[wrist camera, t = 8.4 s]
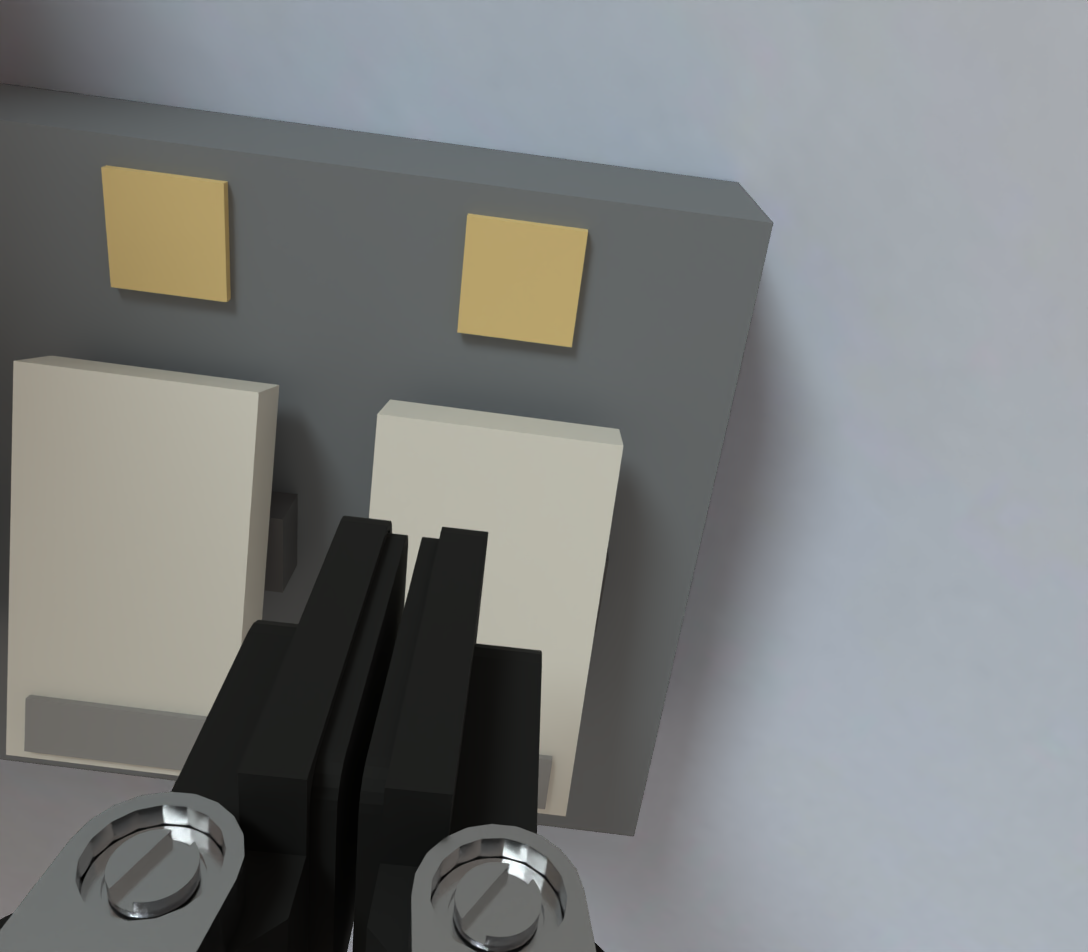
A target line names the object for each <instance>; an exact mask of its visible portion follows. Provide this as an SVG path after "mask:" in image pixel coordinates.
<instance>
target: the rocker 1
mask: <svg viewBox="0 0 1088 952" xmlns="http://www.w3.org/2000/svg"><path fill="white" fill-rule="evenodd" d="M278 397H279V385H276V384H268V383H260V382H253V381H245V380H237V379H229V378H222V377H214V376H206V375H198V374H191V373H183V372H175V371H168V370H160V369H152V368H144V367H137V366H129V365H121V364H113V363H106V362H98V361H90V360H83V359H75V358H67V357H59V356H52V355H51V356H44V357H37V358H30V359H23V360H16V361H13V413H12V466H11V518H10V571H9V624H8V677H7V730H6V755H12V756H20V757H28V758H37V759H45V760H53V761H61V762H69V763H78V764H86V765H94V766H102V767H110V768H119V769H127V770H135V771H143V772H151V773H160V774H168V775H176V776H179V774H180V772H181V770H182V768H183V766H184V764H185V762H186V760H187V758H188V756H189V754H190V752H191V749H192V747H193V745H194V743H195V741H196V739H197V737H198V735H199V733H200V731H201V729H202V727H203V724H204V722H205V720H206V718H207V716H208V714H209V712H210V710H211V708H212V706H213V704H214V702H215V699H216V697H217V695H218V693H219V691H220V689H221V687H222V685H223V683H224V681H225V679H226V677H227V674H228V672H229V670H230V668H231V666H232V664H233V662H234V660H235V658H236V656H237V654H238V651H239V649H240V647H241V645H242V643H243V641H244V639H245V637H246V635H247V633H248V631H249V629H250V628H251V626H252V624H253V623H254V622H255V621H257V620H262V613H263V599H264V586H265V572H266V559H267V545H268V532H269V518H270V505H271V492H272V478H273V465H274V451H275V438H276V424H277V411H278Z"/></svg>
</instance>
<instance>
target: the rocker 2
mask: <svg viewBox="0 0 1088 952" xmlns="http://www.w3.org/2000/svg"><path fill="white" fill-rule="evenodd" d="M622 452H623V442H622V438H621V434H620V430H619V429H615V428H607V427H599V426H592V425H584V424H576V423H568V422H561V421H553V420H545V419H537V418H530V417H522V416H514V415H507V414H499V413H491V412H483V411H476V410H468V409H460V408H452V407H445V406H437V405H429V404H422V403H414V402H406V401H398V400H391V399H390V400H389V401H388V403H387V404H386V405H385V406H384V407H383V408H382V409H381V410H380V412H379V413H378V414H377V425H376V437H375V449H374V461H373V473H372V486H371V498H370V510H369V518H371V519H380V520H389V521H391V523H392V533H393V534H402V535H408V557H407V572H406V588H405V602H406V598H407V594H408V590H409V586H410V582H411V578H412V575H413V571H414V567H415V563H416V559H417V555H418V551H419V547H420V543H421V539H422V537H429V538H438V539H439V538H440V533H441V529H442V527H451V528H459V529H468V530H477V531H486V532H488V542H487V551H486V560H485V569H484V578H483V587H482V596H481V605H480V614H479V623H478V632H477V641H476V643H477V644H486V645H496V646H505V647H514V648H523V649H532V650H541V651H542V679H541V712H540V744H539V777H538V810H537V813H542V814H550V815H558V816H566V811H567V805H568V798H569V792H570V786H571V779H572V773H573V766H574V760H575V753H576V747H577V741H578V734H579V728H580V721H581V715H582V709H583V702H584V696H585V689H586V683H587V676H588V670H589V664H590V657H591V651H592V644H593V638H594V632H595V625H596V619H597V612H598V606H599V599H600V593H601V587H602V580H603V574H604V567H605V561H606V555H607V548H608V542H609V535H610V529H611V522H612V516H613V510H614V503H615V497H616V490H617V484H618V478H619V471H620V465H621V458H622ZM404 606H405V603H404Z"/></svg>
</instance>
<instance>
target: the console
mask: <svg viewBox="0 0 1088 952" xmlns="http://www.w3.org/2000/svg"><path fill="white" fill-rule="evenodd" d="M772 226H773V222H772V221H771V220H770V219H769V217H768V216H767V215H766V214H765V213H764V212H763V210H762V209H761V208H760V207H759V206H758V205H757V203H756V202H755V201H754V200H753V199H752V198H751V196H750V195H749V194H748V193H747V192H746V191H745V189H744V188H743V187H742V186H741V185H740V184H739V183H738V182H731V181H723V180H716V179H708V178H701V177H693V176H686V175H679V174H671V173H664V172H656V171H649V170H641V169H634V168H626V167H619V166H611V165H604V164H597V163H589V162H582V161H574V160H567V159H559V158H552V157H544V156H537V155H530V154H522V153H515V152H507V151H500V150H492V149H485V148H477V147H470V146H463V145H455V144H448V143H440V142H433V141H425V140H418V139H410V138H403V137H396V136H388V135H381V134H373V133H366V132H358V131H351V130H343V129H336V128H328V127H321V126H314V125H306V124H299V123H291V122H284V121H276V120H269V119H261V118H254V117H247V116H239V115H232V114H224V113H217V112H209V111H202V110H194V109H187V108H180V107H172V106H165V105H157V104H150V103H142V102H135V101H127V100H120V99H113V98H105V97H98V96H90V95H83V94H75V93H68V92H60V91H53V90H46V89H38V88H31V87H23V86H16V85H8V84H1V83H0V759H3V760H11V761H19V762H27V763H36V764H44V765H52V766H60V767H69V768H77V769H85V770H93V771H101V772H110V773H118V774H126V775H134V776H142V777H151V778H159V779H167V780H175V781H177V779H178V777H179V776H176V775H168V774H160V773H151V772H143V771H135V770H127V769H119V768H110V767H102V766H94V765H86V764H78V763H69V762H61V761H53V760H45V759H37V758H28V757H20V756H12V755H6V730H7V677H8V624H9V571H10V518H11V466H12V413H13V361H16V360H23V359H30V358H37V357H44V356H51V355H52V356H59V357H67V358H75V359H83V360H90V361H98V362H106V363H113V364H121V365H129V366H137V367H144V368H152V369H160V370H168V371H175V372H183V373H191V374H198V375H206V376H214V377H222V378H229V379H237V380H245V381H253V382H260V383H268V384H276V385H279V397H278V411H277V424H276V438H275V451H274V465H273V478H272V492H271V505H270V518H269V532H268V545H267V559H266V572H265V586H264V599H263V613H262V620H266V621H275V622H284V623H293V624H298V623H299V621H300V618H301V616H302V614H303V611H304V609H305V606H306V604H307V601H308V599H309V596H310V594H311V591H312V589H313V587H314V584H315V582H316V579H317V577H318V574H319V572H320V569H321V567H322V565H323V562H324V560H325V557H326V555H327V552H328V550H329V547H330V545H331V542H332V540H333V538H334V535H335V533H336V530H337V528H338V525H339V523H340V520H341V519H342V517H343V516H354V517H362V518H369V510H370V498H371V486H372V473H373V461H374V449H375V437H376V425H377V414H378V413H379V412H380V410H381V409H382V408H383V407H384V406H385V405H386V404H387V403H388V401H389V400H390V399H391V400H398V401H406V402H414V403H422V404H429V405H437V406H445V407H452V408H460V409H468V410H476V411H483V412H491V413H499V414H507V415H514V416H522V417H530V418H537V419H545V420H553V421H561V422H568V423H576V424H584V425H592V426H599V427H607V428H615V429H619V430H620V434H621V438H622V442H623V452H622V458H621V465H620V471H619V478H618V484H617V490H616V497H615V503H614V510H613V516H612V522H611V529H610V535H609V542H608V548H607V555H606V561H605V567H604V574H603V580H602V587H601V593H600V599H599V606H598V612H597V619H596V625H595V632H594V638H593V644H592V651H591V657H590V664H589V670H588V676H587V683H586V689H585V696H584V702H583V709H582V715H581V721H580V728H579V734H578V741H577V747H576V753H575V760H574V766H573V773H572V779H571V786H570V792H569V798H568V805H567V811H566V816H558V815H550V814H542V813H537V825H545V826H553V827H561V828H569V829H577V830H586V831H594V832H602V833H610V834H619V835H627V836H634V834H635V829H636V825H637V820H638V816H639V812H640V807H641V803H642V798H643V794H644V789H645V785H646V781H647V776H648V772H649V767H650V763H651V759H652V754H653V750H654V745H655V741H656V737H657V732H658V728H659V723H660V719H661V715H662V710H663V706H664V701H665V697H666V693H667V688H668V684H669V679H670V675H671V671H672V666H673V662H674V657H675V653H676V649H677V644H678V640H679V635H680V631H681V627H682V622H683V618H684V613H685V609H686V605H687V600H688V596H689V591H690V587H691V583H692V578H693V574H694V569H695V565H696V561H697V556H698V552H699V547H700V543H701V539H702V534H703V530H704V525H705V521H706V517H707V512H708V508H709V503H710V499H711V495H712V490H713V486H714V481H715V477H716V473H717V468H718V464H719V459H720V455H721V451H722V446H723V442H724V437H725V433H726V429H727V424H728V420H729V415H730V411H731V407H732V402H733V398H734V393H735V389H736V385H737V380H738V376H739V371H740V367H741V363H742V358H743V354H744V349H745V345H746V341H747V336H748V332H749V327H750V323H751V319H752V314H753V310H754V305H755V301H756V297H757V292H758V288H759V283H760V279H761V275H762V270H763V266H764V261H765V257H766V253H767V248H768V244H769V239H770V235H771V231H772Z"/></svg>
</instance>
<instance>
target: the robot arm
mask: <svg viewBox="0 0 1088 952" xmlns="http://www.w3.org/2000/svg"><path fill="white" fill-rule="evenodd" d="M487 542H488V532H486V531H477V530H468V529H459V528H451V527H442V529H441V533H440V538H439V539H438V538H429V537H422V539H421V543H420V547H419V551H418V555H417V559H416V563H415V567H414V571H413V575H412V578H411V582H410V586H409V590H408V594H407V598H406V602H405V588H406V572H407V557H408V535H402V534H393V533H392V523H391V521H389V520H380V519H371V518H362V517H354V516H343V517H342V519H341V520H340V523H339V525H338V528H337V530H336V533H335V535H334V538H333V540H332V542H331V545H330V547H329V550H328V552H327V555H326V557H325V560H324V562H323V565H322V567H321V569H320V572H319V574H318V577H317V579H316V582H315V584H314V587H313V589H312V591H311V594H310V596H309V599H308V601H307V604H306V606H305V609H304V611H303V614H302V616H301V618H300V621H299V623H298V624H293V623H284V622H275V621H266V620H257V621H255V622H254V623H253V624H252V626H251V628H250V629H249V631H248V633H247V635H246V637H245V639H244V641H243V643H242V645H241V647H240V649H239V651H238V654H237V656H236V658H235V660H234V662H233V664H232V666H231V668H230V670H229V672H228V674H227V677H226V679H225V681H224V683H223V685H222V687H221V689H220V691H219V693H218V695H217V697H216V699H215V702H214V704H213V706H212V708H211V710H210V712H209V714H208V716H207V718H206V720H205V722H204V724H203V727H202V729H201V731H200V733H199V735H198V737H197V739H196V741H195V743H194V745H193V747H192V749H191V752H190V754H189V756H188V758H187V760H186V762H185V764H184V766H183V768H182V770H181V772H180V774H179V777H178V779H177V781H176V783H175V785H174V787H173V789H172V791H171V792H163V793H155V794H148V795H141V796H139V797H136V798H133V799H130V800H127V801H124V802H122V803H119V804H116V805H114V806H112V807H111V808H109V809H107V810H106V811H104V812H102V813H101V814H99V815H98V816H96V817H94V818H93V819H91V820H90V821H89V822H88V823H86V824H85V825H84V826H83V827H82V828H81V829H80V830H79V831H78V832H77V833H76V834H75V835H74V836H73V837H72V838H71V839H70V840H69V842H68V843H67V844H66V846H65V847H64V848H63V850H62V851H61V852H60V853H59V855H58V856H57V857H56V859H55V860H54V861H53V862H52V864H51V865H50V866H49V868H48V869H47V870H46V871H45V873H44V874H43V875H42V877H41V878H40V879H39V881H38V882H37V883H36V884H35V886H34V887H33V888H32V890H31V891H30V892H29V893H28V895H27V896H26V897H25V899H24V900H23V901H22V902H21V904H20V905H19V906H18V908H17V909H16V910H15V912H14V913H12V914H10V915H8V916H6V917H4V918H2V919H0V952H347V949H348V945H349V940H350V936H351V931H352V927H353V922H354V931H353V952H604V951H603V950H602V949H601V948H600V947H599V946H598V945H597V944H596V943H595V942H594V937H593V932H592V927H591V922H590V917H589V912H588V907H587V901H586V896H585V891H584V888H583V886H582V883H581V880H580V878H579V875H578V872H577V870H576V868H575V867H574V865H573V864H572V863H571V862H570V860H569V859H568V858H567V857H566V855H565V854H564V853H563V852H562V850H561V849H559V848H558V847H556V846H555V845H554V844H552V843H551V842H549V841H548V840H547V839H545V838H544V837H542V836H541V835H538V834H537V810H538V777H539V744H540V712H541V679H542V651H541V650H532V649H523V648H514V647H505V646H496V645H486V644H477V643H476V641H477V632H478V623H479V614H480V605H481V596H482V587H483V578H484V569H485V560H486V551H487ZM404 603H405V606H404Z"/></svg>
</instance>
